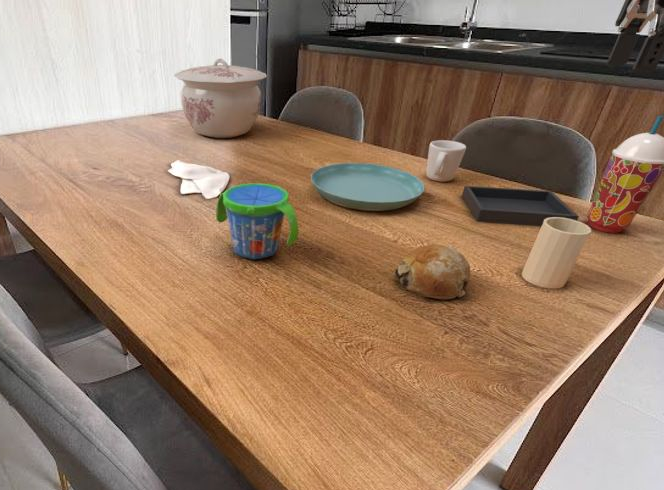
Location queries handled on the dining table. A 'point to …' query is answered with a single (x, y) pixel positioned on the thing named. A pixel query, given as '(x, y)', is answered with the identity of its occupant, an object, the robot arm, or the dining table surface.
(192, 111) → the chamber pot
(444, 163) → the cup
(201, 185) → the cloth
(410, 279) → the bread roll
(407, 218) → the dining table surface
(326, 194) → the teal plate
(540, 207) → the tray
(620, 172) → the smoothie
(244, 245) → the snack cup
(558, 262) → the tumbler
